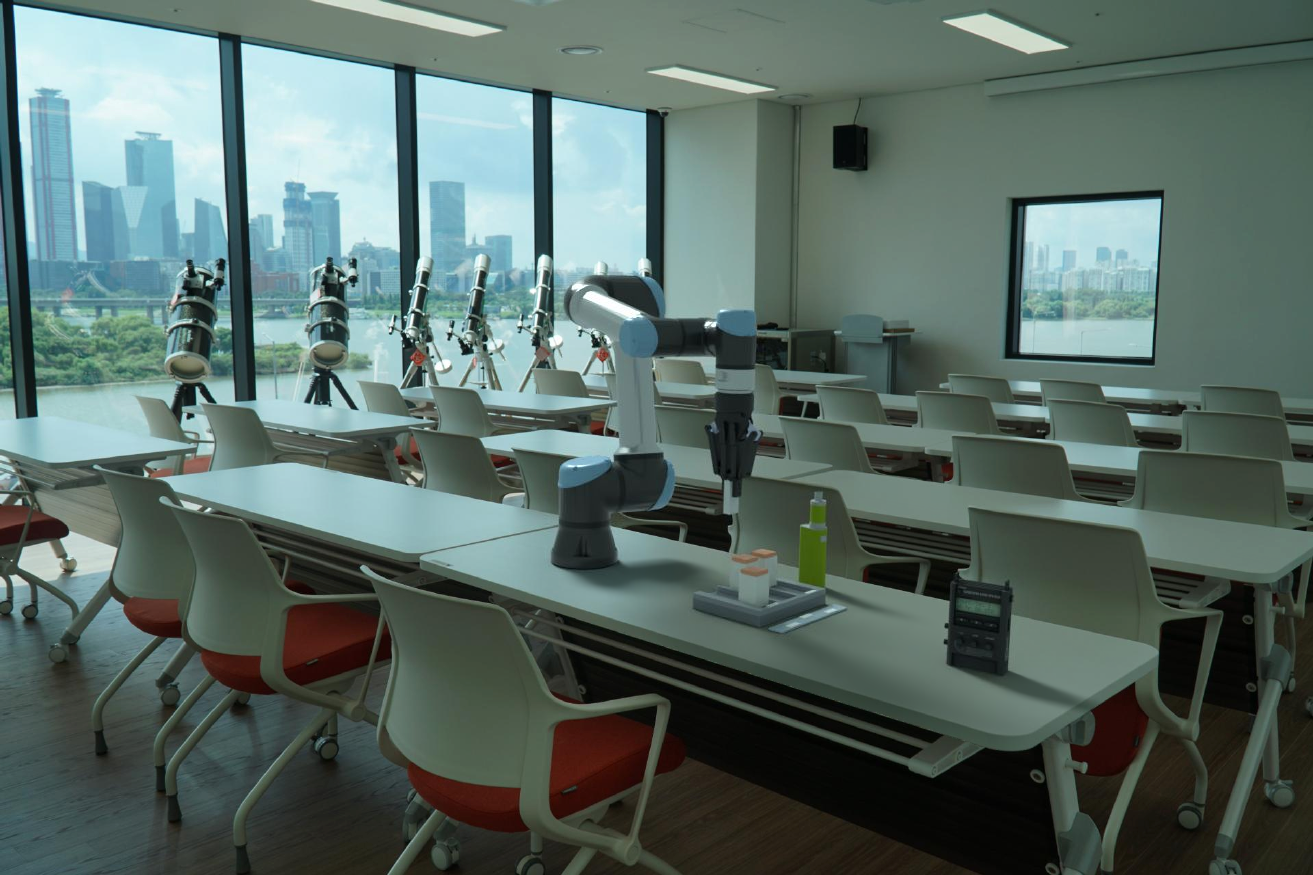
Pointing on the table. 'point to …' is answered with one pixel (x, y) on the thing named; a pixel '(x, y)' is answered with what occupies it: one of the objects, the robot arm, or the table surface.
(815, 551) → the vape
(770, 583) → the white orange-topped block
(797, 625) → the label card
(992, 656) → the geiger counter
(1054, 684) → the table surface
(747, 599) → the orange topped white block
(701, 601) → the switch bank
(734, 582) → the orange-topped white block
